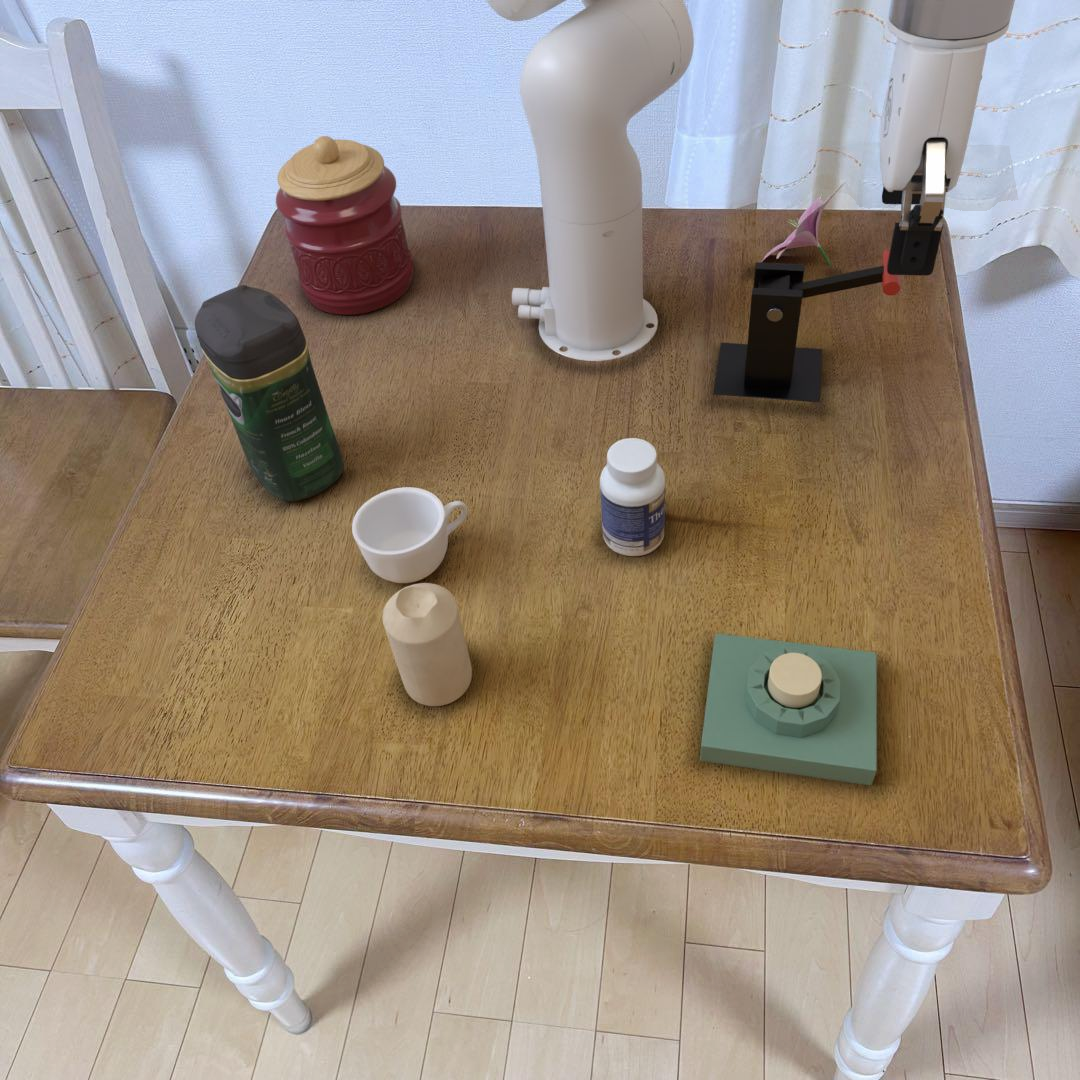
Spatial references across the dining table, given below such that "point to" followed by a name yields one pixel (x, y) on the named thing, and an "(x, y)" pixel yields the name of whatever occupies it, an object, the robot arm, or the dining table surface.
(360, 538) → the teacup
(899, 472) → the dining table surface
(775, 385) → the bracket
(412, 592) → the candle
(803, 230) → the lily
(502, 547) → the dining table surface
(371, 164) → the kitchen canister
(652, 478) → the pill bottle
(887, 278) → the lever
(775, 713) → the button box
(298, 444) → the coffee jar
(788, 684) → the button
